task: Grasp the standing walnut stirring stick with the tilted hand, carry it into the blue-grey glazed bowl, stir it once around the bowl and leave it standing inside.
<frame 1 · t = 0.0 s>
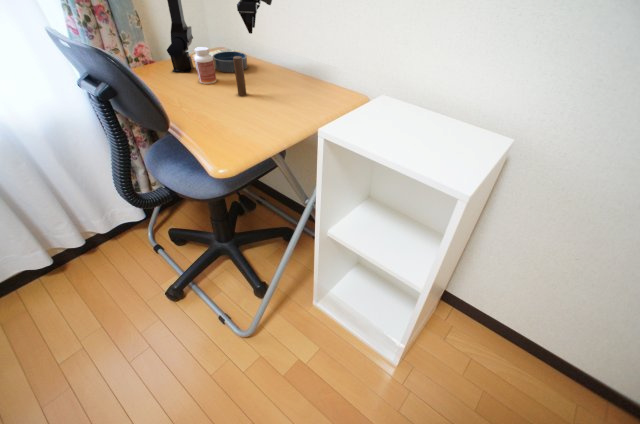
hand: (252, 30, 114), 15 cm above the table, tool pointing down, fingers open, 9 cm apart
pill bottle: (208, 82, 114), on the table
bowl: (231, 67, 126), on the table
stick: (242, 94, 106), on the table
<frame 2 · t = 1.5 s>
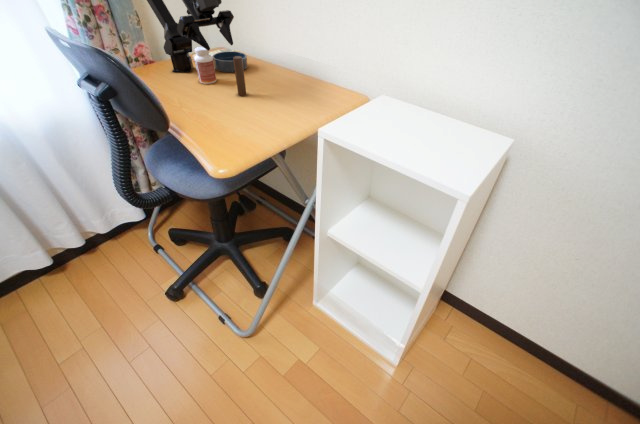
hand: (221, 47, 100), 13 cm above the table, tool tilted 45°, fingers open, 9 cm apart
nothing on the table moved.
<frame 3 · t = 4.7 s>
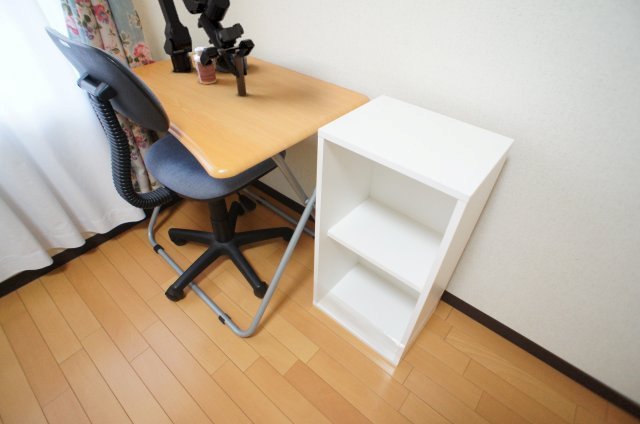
hand: (242, 76, 101), 7 cm above the table, tool tilted 45°, fingers closed on stick, 3 cm apart
stick: (242, 94, 106), on the table, touching gripper
everything else where it was.
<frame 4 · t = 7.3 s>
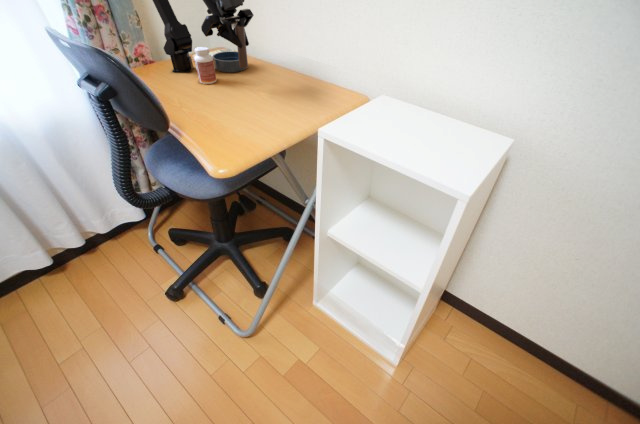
hand: (244, 46, 100), 14 cm above the table, tool tilted 45°, fingers closed on stick, 3 cm apart
stick: (243, 66, 104), point 8 cm above the table, touching gripper
everything else where it was.
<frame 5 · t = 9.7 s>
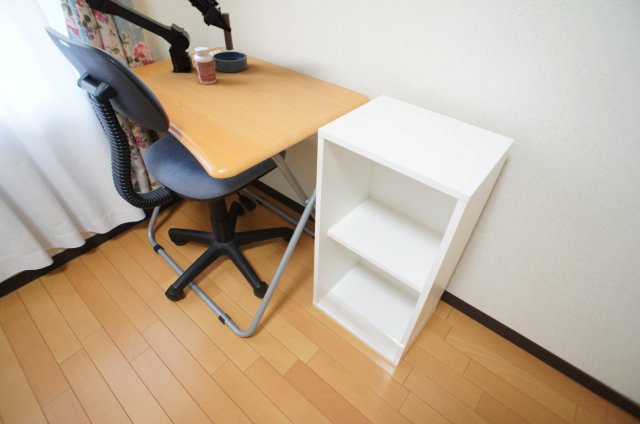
hand: (230, 30, 117), 14 cm above the table, tool tilted 45°, fingers closed on stick, 3 cm apart
stick: (229, 49, 121), point 7 cm above the table, touching gripper
everything else where it was.
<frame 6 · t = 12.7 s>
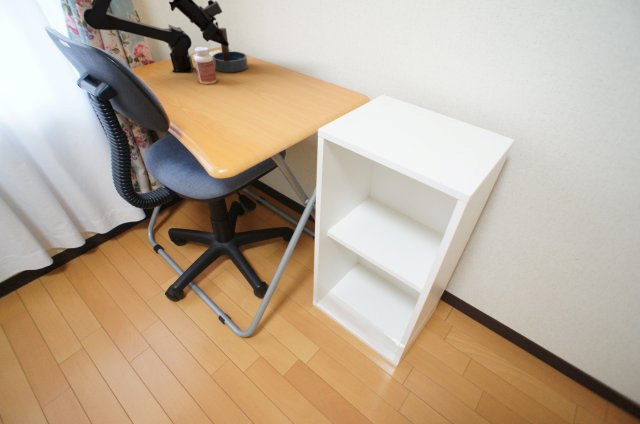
hand: (228, 44, 121), 8 cm above the table, tool tilted 45°, fingers closed on stick, 3 cm apart
stick: (227, 62, 125), point 2 cm above the table, touching gripper
everything else where it was.
when the fingers open (7 cm above the table, at t = 14.9 s): stick stays where it is, resting on bowl.
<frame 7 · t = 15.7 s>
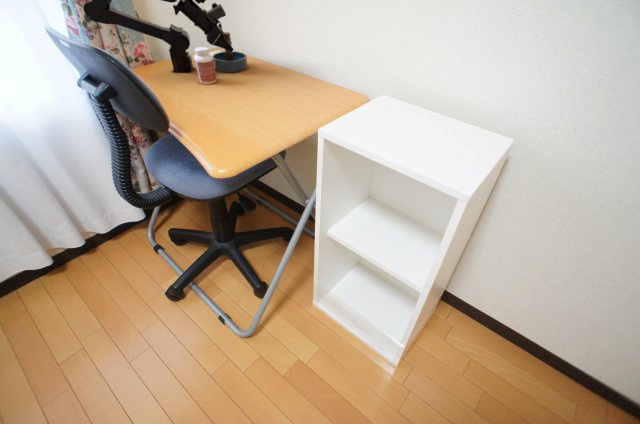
hand: (232, 47, 121), 8 cm above the table, tool tilted 45°, fingers open, 9 cm apart
stick: (230, 66, 125), point 1 cm above the table, touching bowl
everything else where it was.
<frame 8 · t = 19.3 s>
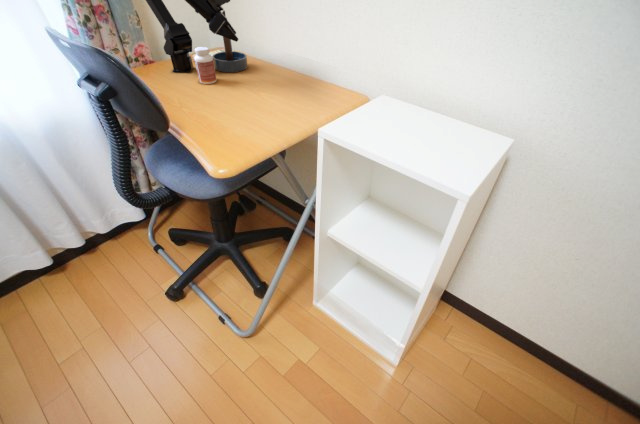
hand: (236, 37, 110), 14 cm above the table, tool tilted 45°, fingers open, 9 cm apart
nothing on the table moved.
at the end: stick inside the target area in the bowl (0.0 cm from its centre), point 0.6 cm above the bowl's base; stick moved 29.1 cm from its start; the gripper is holding nothing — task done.
